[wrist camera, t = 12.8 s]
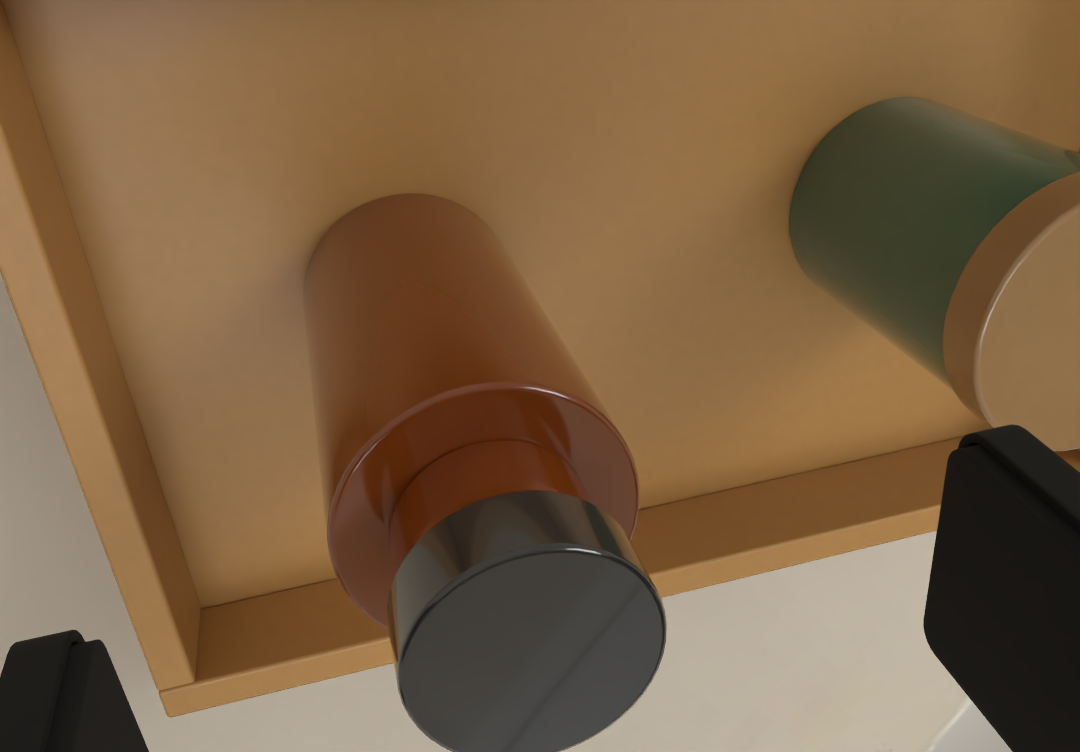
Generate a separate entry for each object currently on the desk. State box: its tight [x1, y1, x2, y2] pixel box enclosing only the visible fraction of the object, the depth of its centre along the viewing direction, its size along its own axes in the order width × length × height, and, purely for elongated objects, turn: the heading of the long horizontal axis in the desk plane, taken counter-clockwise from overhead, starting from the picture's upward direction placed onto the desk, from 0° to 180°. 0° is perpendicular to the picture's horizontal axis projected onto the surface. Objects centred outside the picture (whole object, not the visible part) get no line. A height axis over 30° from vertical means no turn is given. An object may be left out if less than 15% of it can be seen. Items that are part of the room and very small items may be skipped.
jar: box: [789, 96, 1080, 451], centre depth 20 cm, size 5×5×7 cm
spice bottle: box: [303, 193, 667, 752], centre depth 16 cm, size 4×4×11 cm
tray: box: [0, 0, 1080, 717], centre depth 21 cm, size 16×24×3 cm, turn 95°
